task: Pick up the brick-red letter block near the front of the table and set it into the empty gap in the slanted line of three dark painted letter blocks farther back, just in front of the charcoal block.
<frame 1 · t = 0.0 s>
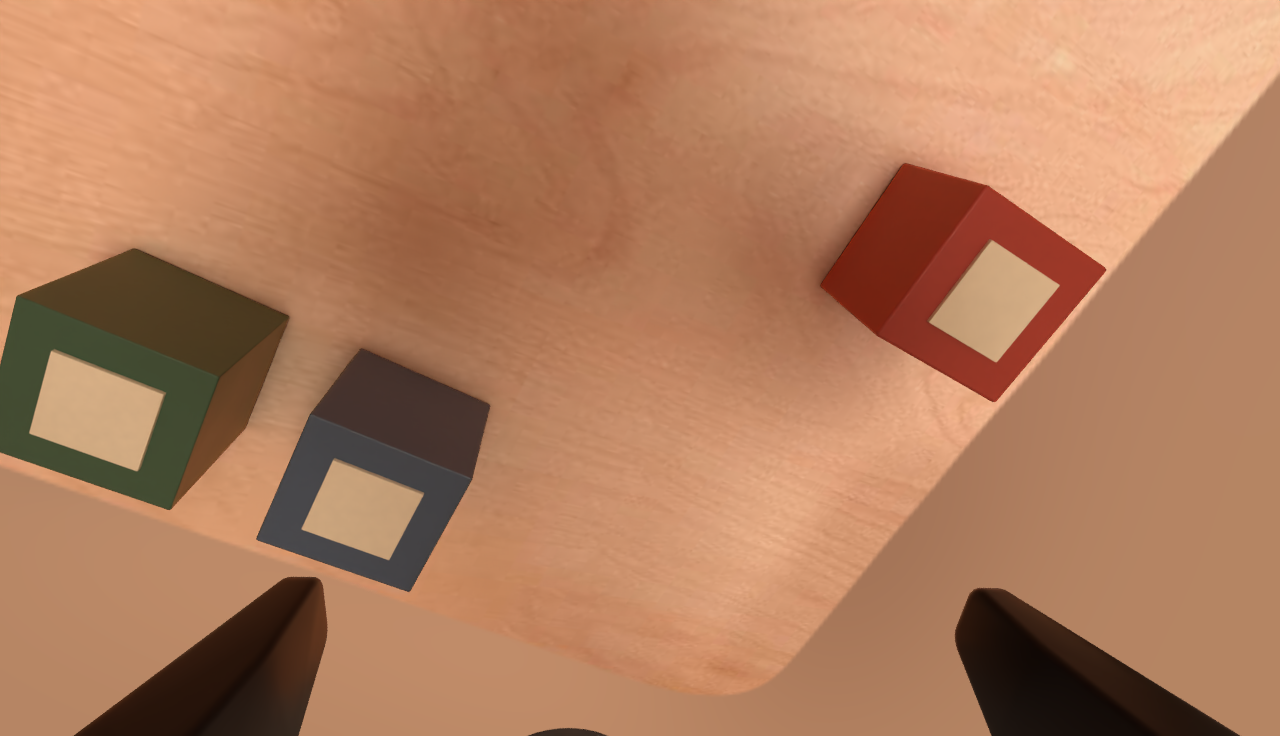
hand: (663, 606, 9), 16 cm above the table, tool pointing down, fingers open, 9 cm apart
green block B: (193, 344, 23), on the table
red letter block: (912, 258, 24), on the table
slate block A: (401, 430, 25), on the table
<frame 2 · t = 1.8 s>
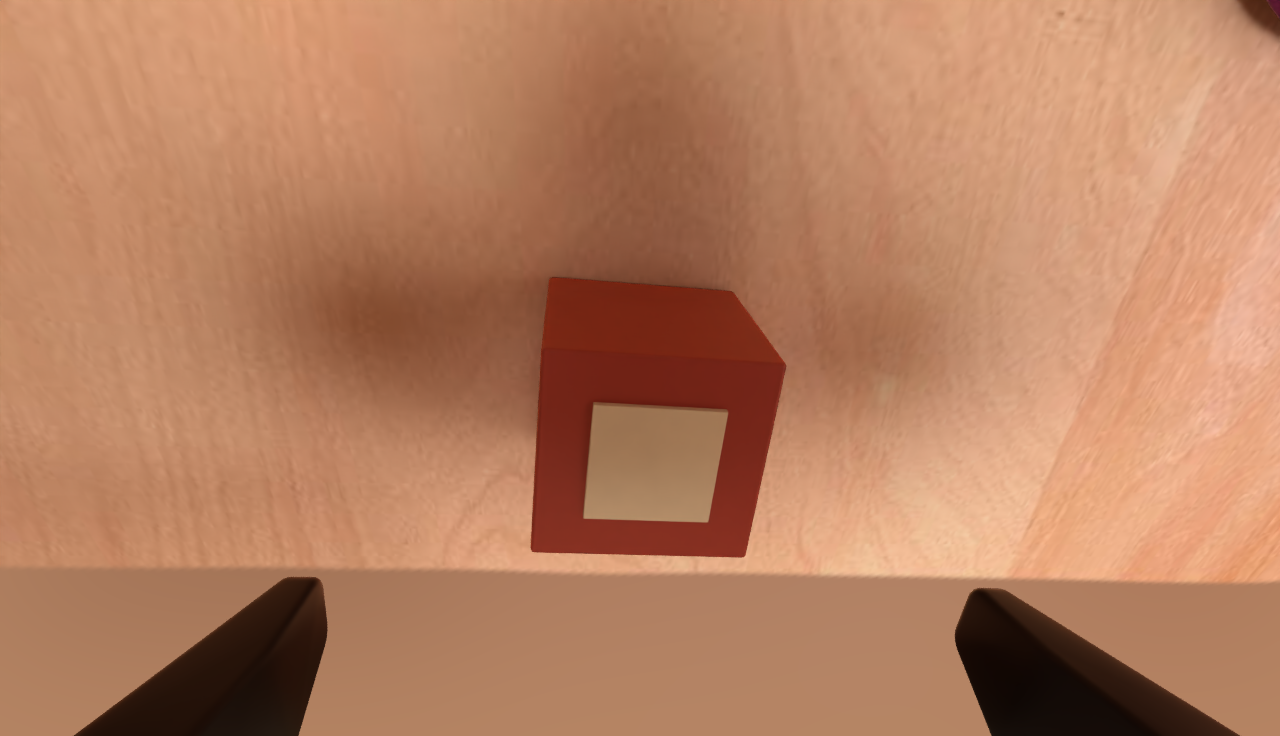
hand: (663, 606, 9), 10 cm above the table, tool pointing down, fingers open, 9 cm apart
red letter block: (633, 368, 19), on the table
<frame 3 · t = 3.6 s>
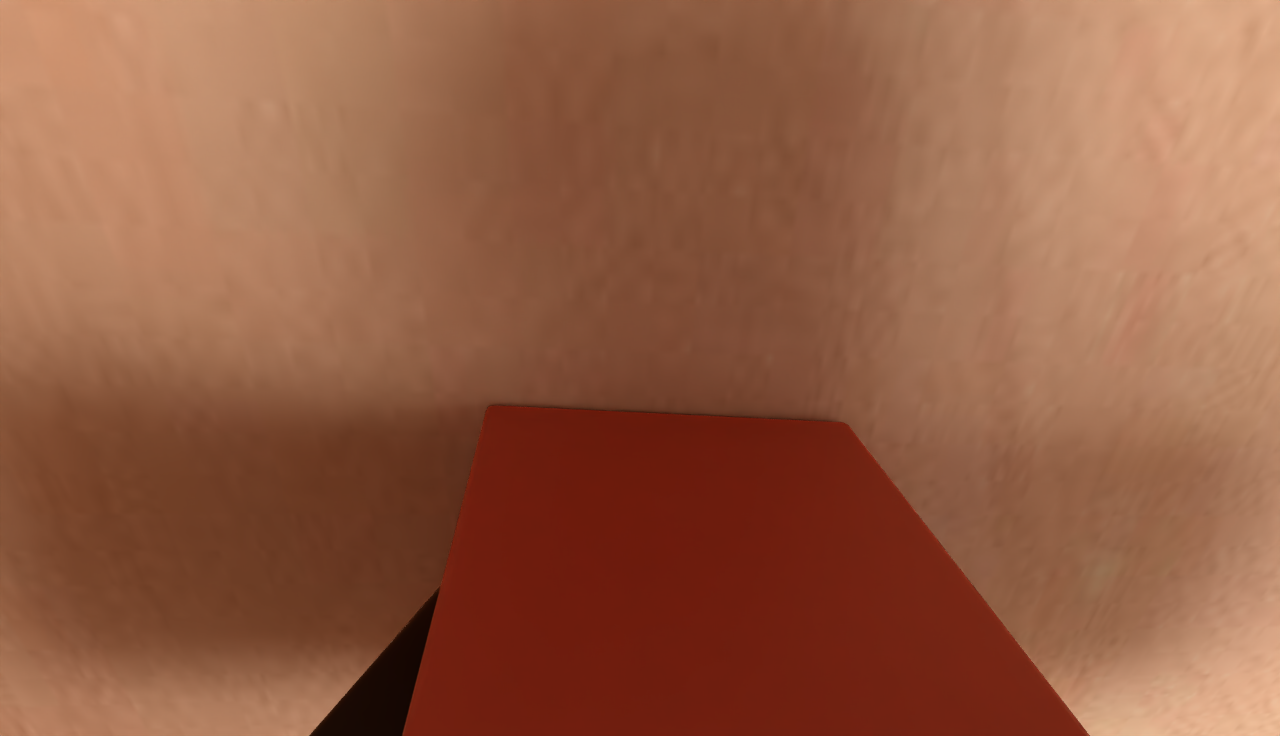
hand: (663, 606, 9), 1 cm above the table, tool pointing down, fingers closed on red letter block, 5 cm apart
red letter block: (653, 557, 10), on the table, touching gripper
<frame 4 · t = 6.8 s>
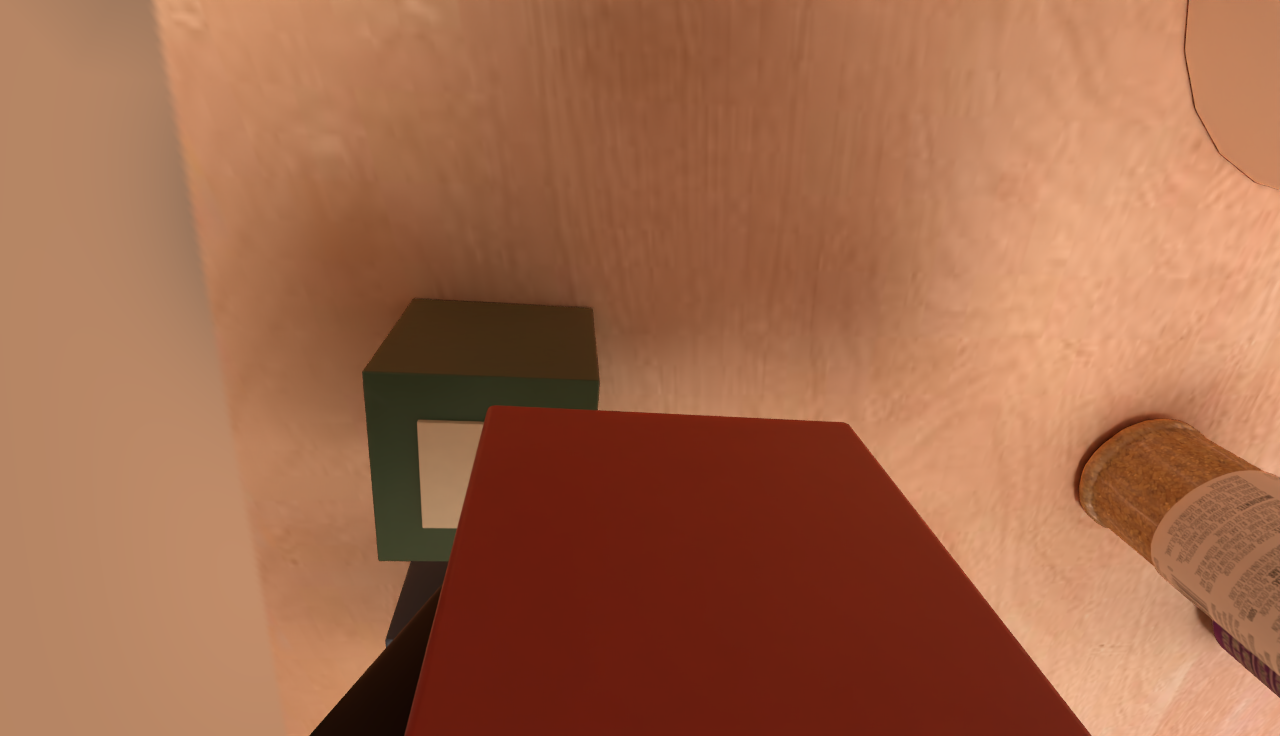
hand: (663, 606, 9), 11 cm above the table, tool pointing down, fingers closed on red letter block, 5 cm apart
green block B: (503, 382, 20), on the table
beverage can: (1277, 574, 27), on the table
red letter block: (654, 557, 10), point 10 cm above the table, touching gripper
slate block A: (502, 580, 23), on the table
sprinkles bottle: (1128, 466, 23), on the table
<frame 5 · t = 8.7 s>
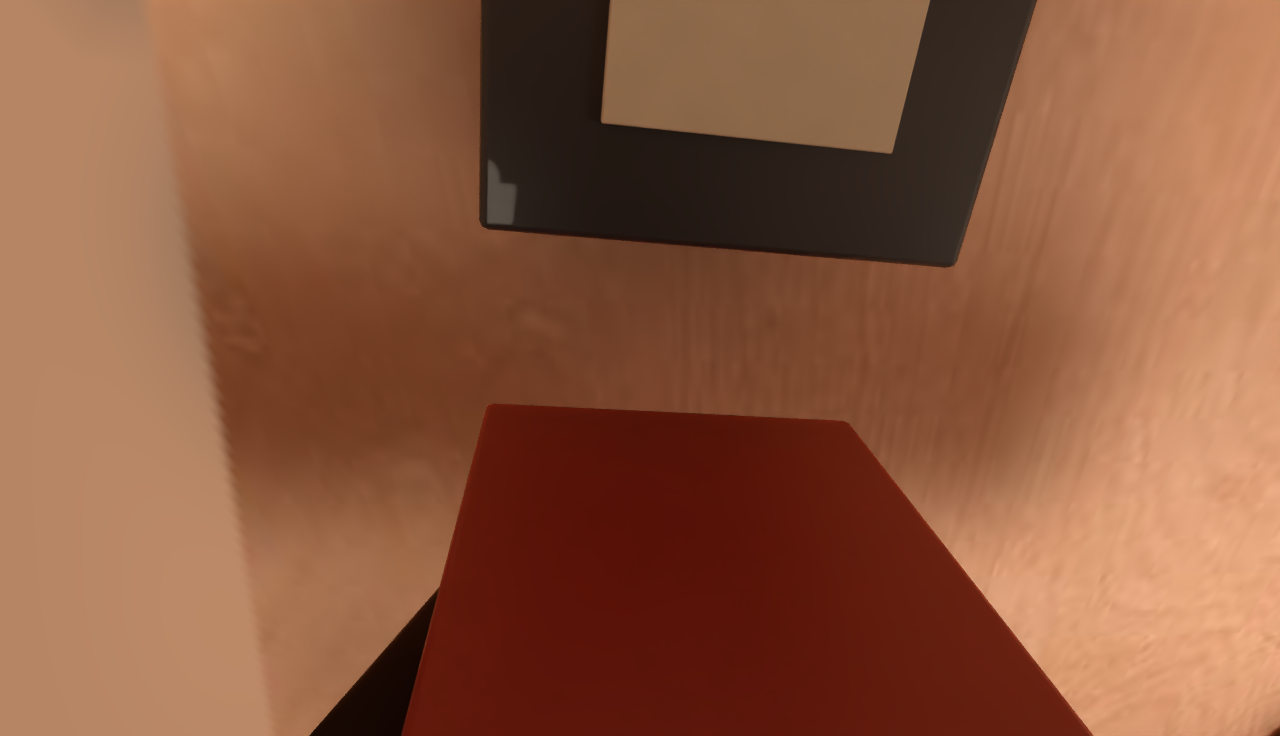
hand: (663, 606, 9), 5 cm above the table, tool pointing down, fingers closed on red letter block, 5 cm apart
red letter block: (653, 556, 10), point 4 cm above the table, touching gripper
charcoal block C: (685, 12, 10), on the table
when the fingers open (1 cm above the table, at t = 10.1 s): red letter block stays where it is, on the table.
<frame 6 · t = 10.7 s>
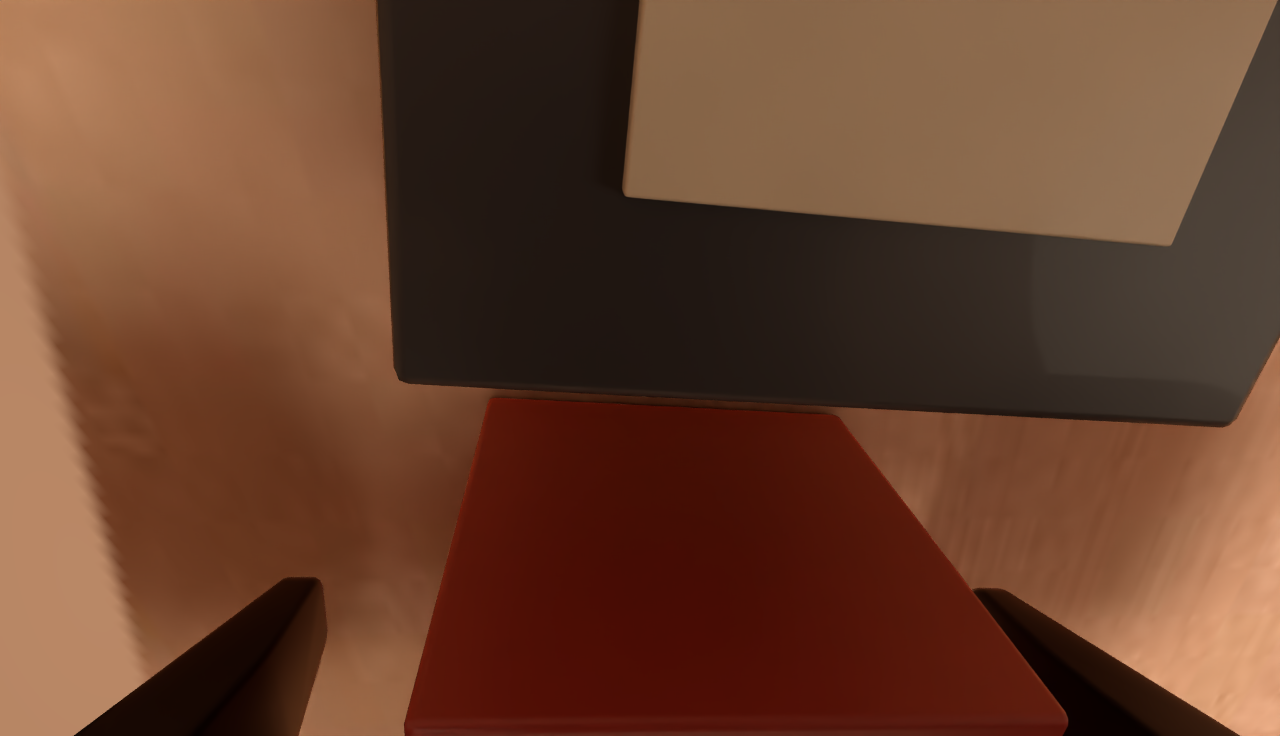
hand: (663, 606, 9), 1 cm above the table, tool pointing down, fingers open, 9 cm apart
red letter block: (650, 546, 10), on the table
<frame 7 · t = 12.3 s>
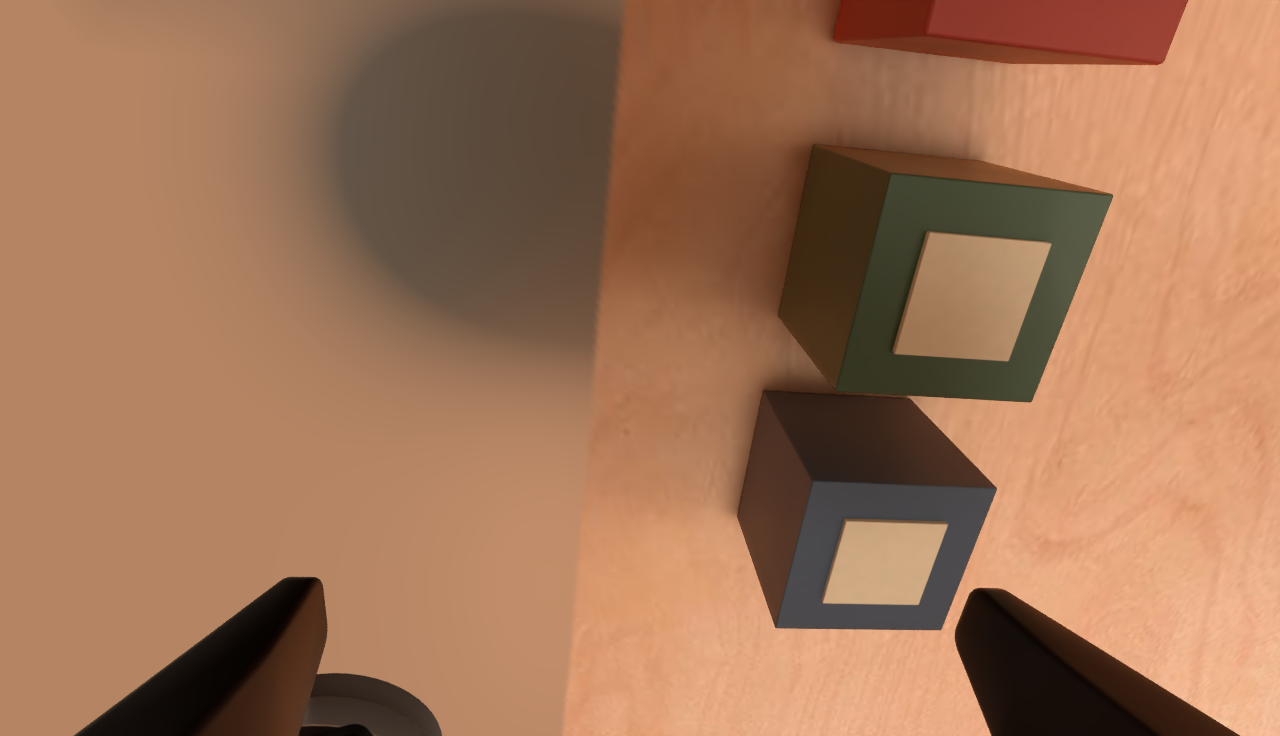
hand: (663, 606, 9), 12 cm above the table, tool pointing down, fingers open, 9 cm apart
green block B: (876, 242, 19), on the table
slate block A: (820, 459, 22), on the table
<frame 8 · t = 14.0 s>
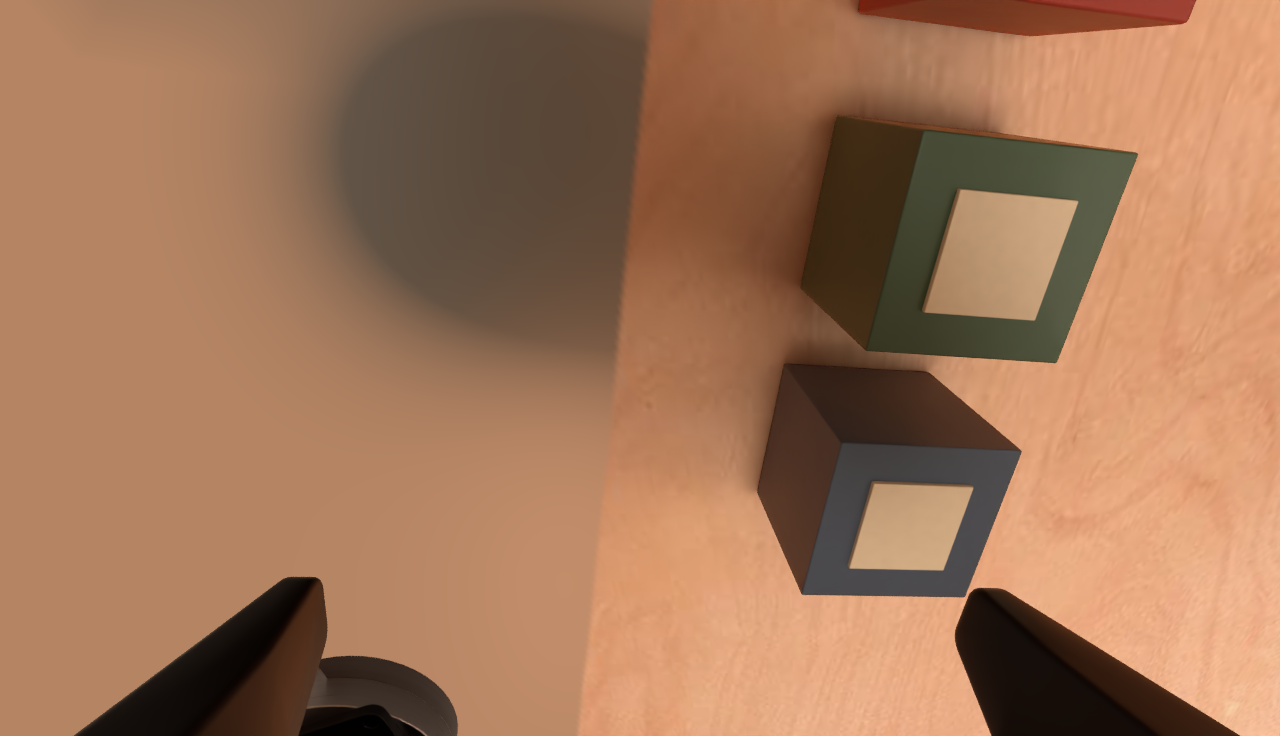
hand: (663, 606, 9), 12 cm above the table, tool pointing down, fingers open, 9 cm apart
green block B: (897, 213, 19), on the table
slate block A: (840, 434, 22), on the table
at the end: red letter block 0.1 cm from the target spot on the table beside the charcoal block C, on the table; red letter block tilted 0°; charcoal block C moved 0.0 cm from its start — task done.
